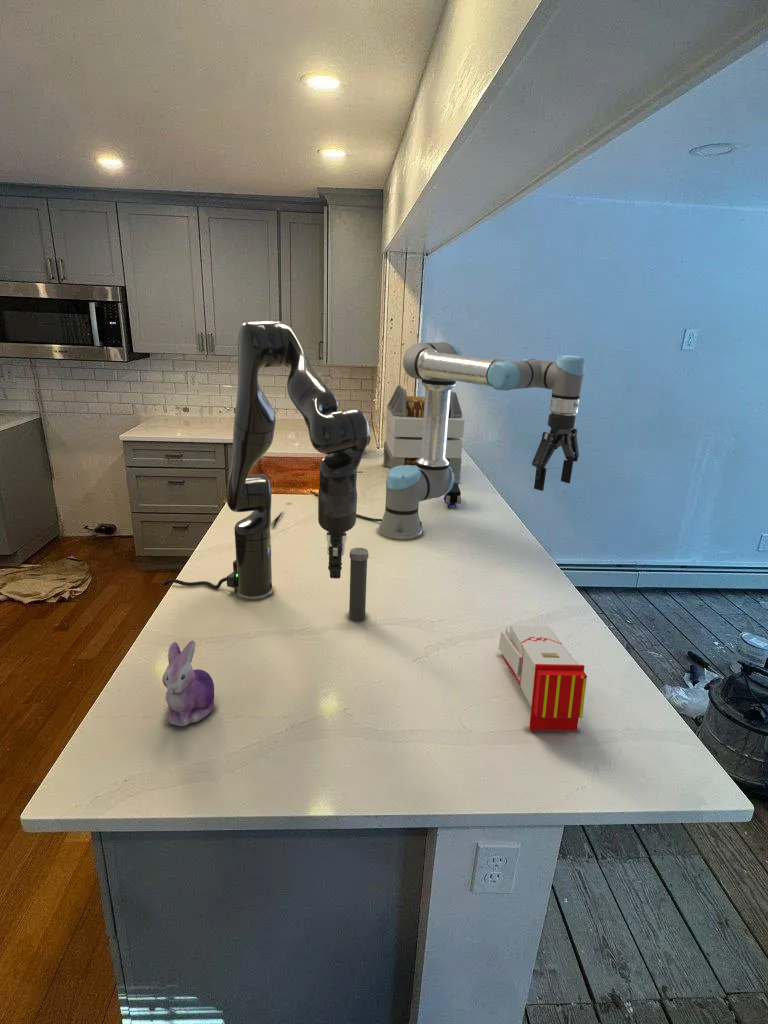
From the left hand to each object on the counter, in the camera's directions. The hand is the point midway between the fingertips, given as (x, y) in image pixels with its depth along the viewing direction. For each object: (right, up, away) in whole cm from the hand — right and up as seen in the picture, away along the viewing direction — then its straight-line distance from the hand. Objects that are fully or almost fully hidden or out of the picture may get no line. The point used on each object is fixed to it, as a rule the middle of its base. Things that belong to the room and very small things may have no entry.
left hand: (336, 562), depth 121 cm
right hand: (+59, +18, +45) cm, 77 cm away
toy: (+42, -27, 0) cm, 50 cm away
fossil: (-4, +42, +186) cm, 191 cm away
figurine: (-27, -28, -12) cm, 40 cm away
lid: (+4, +1, +18) cm, 19 cm away
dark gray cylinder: (+3, -16, +25) cm, 30 cm away
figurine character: (+38, +14, +112) cm, 119 cm away
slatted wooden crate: (+27, +30, +154) cm, 159 cm away
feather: (-28, +9, +91) cm, 96 cm away
